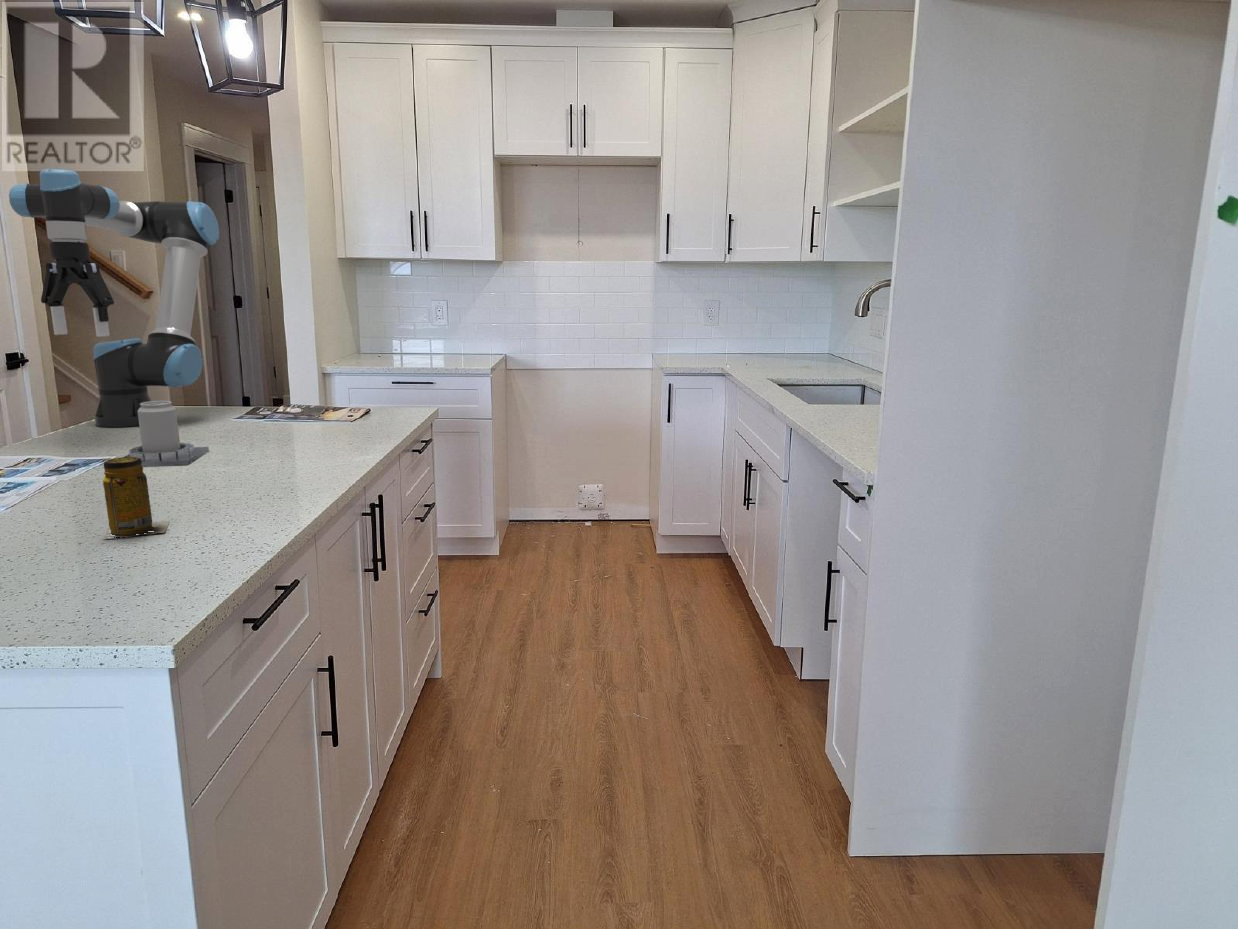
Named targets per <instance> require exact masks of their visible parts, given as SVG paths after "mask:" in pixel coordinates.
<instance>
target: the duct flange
mask: <svg viewBox="0 0 1238 929" xmlns="http://www.w3.org/2000/svg"><path fill="white" fill-rule="evenodd" d="M180 448H181V449H179V450H174V451H167V452H151V453H147V452H143V450H142V445H139V446H135V447H132V448H130V449H129V450H128V453H129V454H127V455H125V456H124V457H137V458H140V459H141V461H142V467H165V466H166V467H168V466H169V467H171V466H174V467H175V465H176V466H188V465H190V464H192V463H193V462H195V461H196V460H198V459H199V458H201V457H202V456H203V454H204V453H205V454H206V452H207V453H208V452H210V450H209V449H210V448H209V446H195V445H194V444H192V443H188V442H181V441H180ZM205 454H204V455H205ZM201 455H202V456H201ZM200 456H201V457H200ZM197 458H198V459H197ZM195 459H196V460H195ZM194 460H195V461H194ZM191 462H192V463H191Z"/></svg>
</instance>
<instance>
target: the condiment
mask: <svg viewBox="0 0 1238 929" xmlns="http://www.w3.org/2000/svg"><path fill="white" fill-rule="evenodd" d="M103 469H104V471H103V472H104V473H103V474H104V478H103V480H102V485H103V489H104V497H105V503H106V506H105V507H106V512H107V520H108V527H109V531H111V533H107V534H112V535H115V536H110V535H109V536H105V537H104V538H103V540H109V539H110V540H111V539H113V538H108V537H115V538H114V539H117V538H116V537H120V538H119V539H121V538H122V537H125V538H132V537H137V536H141V535H142V536H143V535H144V536H146V535H154V534H161V533H162V534H163V533H166V532H167V530H168V528H169V524H170V520H166V521H165V520H164V521H154V522H153V515H152V509H151V502H150V494H149V486H148V485H149V484H148V478H147V475H146V474H145V473H144V466H142V461H141V459H140V458H137V457H125V456H123V457H114V458H109V459H107V460H105V461H104V462H103ZM109 531H108V532H109ZM148 531H154V532H148ZM144 533H147V534H144ZM136 534H140V535H136ZM122 539H123V538H122Z"/></svg>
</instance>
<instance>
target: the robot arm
mask: <svg viewBox="0 0 1238 929" xmlns="http://www.w3.org/2000/svg"><path fill="white" fill-rule="evenodd" d="M39 182H40V183H39V184H38V183H35V184H34V183H28V182H27V183H23V184H22V183H21V184H15V185H13V186H12V187H11V188H10V190H9V194H8V197H9V198H8V201H9V205H10V206H11V208H12V210H13V211H14V212H15V213H16V214H17V215H18V216H21V217H23V218H32V219H34V218H35V219H36V218H43V219H45V227H46V234H47V239H49V240H51V241H49V243H48V246H49V251H50V257H51V258H52V259H53V260H55V262H46V263H45V277H44V282H43V288H42V293H41V297H40V302H41V304H46V305H47V307H49V314H50V319H51V321H52V328H53V335H54V336H61V335H68V334H69V333H68V325H67V318H66V312H65V306H64V304H63V300H64V298H65V296H66V294H67V291H68V289H69V287H70V286H71V285H73V284H77V285H78V286H80V287H81V289H82V290H83V291H84V293H85V294H86V295H87V297H88V298H89V300H90V301H91V303H92V304H93V306H92V313H93V321H94V327H95V336H96V337H97V338H98V337H110V336H111V335H110V328H109V313H108V312H109V311H108V307H109V306H113V305H114V304H115V301H114V298H113V297H112V294H111V293H110V290H109V289H108V287H107V284H106V282H105V279H104V278H103V276H102V274H101V271H100V266H99V264H98V263H95V262H94V263H92V262H90V263H89V262H87V260H90V259H91V253H90V246H89V244H88V243H87V242H85V241H87V240H88V232H87V226H88V227H93V228H94V227H95V228H98V229H104V230H108V231H109V230H110V231H114V232H115V233H116V234H117V235H119V236H122V237H127V238H130V239H131V238H132V239H135V240H139V241H144V242H148V243H154V244H161V245H162V247H163V248H164V249H165V250H166V253H165V259H164V260H165V261H164V266H163V273H162V282H161V289H160V296H159V302H158V308H157V309H158V311H157V318H156V324H155V329H154V330H153V331H150V332H149V333H148V334H147V340H146V343H143V341H142V338H139V337H137V338H136V337H135V338H129V339H122V340H121V339H120V340H113V341H112V340H111V341H105V342H103V341H102V342H98V343H96V344H95V345H94V346H93V361H94V369H95V373H96V374H95V375H96V381H97V389H98V396H99V397H98V398H99V399H98V402H97V407H96V410H95V413H94V414H95V416H94V421H95V423H94V424H95V426H97V427H100V428H102V427H103V428H125V427H127V428H128V427H137V426H139V419H138V410H139V408H140V407H141V405H140V404H141V403H143V402H150V401H152V399H151V397H150V396H149V392H148V391H149V390H148V387H171V388H178V387H188V386H191V385H193V383H195V382H196V381H197V380H198V379H199V377H200V375H201V373H202V369H203V366H204V365H203V360H204V359H203V357H202V356H203V355H202V351H201V349H200V348H199V347H198V346H197V345H196V340H195V339H194V338H193V337H192V336H191V332H192V327H193V320H194V311H195V304H196V296H197V288H198V280H199V274H200V273H199V272H200V266H201V259H202V258H203V257H205V256H206V255H208V251H209V245H210V246H212V245H215V244H216V243H218V241H219V238H220V227H219V223H218V219H217V218H216V217H217V216H216V215H215V213H214V211H213V210H212V208H211V207H210V206H209V205H207V204H206V203H204V202H200V201H191V200H187V201H160V200H159V201H157V200H156V201H140V202H139V201H137V202H136V201H128V200H119V197H118V195H117V194H116V193H115V191H113V190H112V189H110V188H109V187H106V186H103V185H100V184H98V185H97V184H89V183H82V181H81V179H80V175H79V173H78V172H76V171H74V170H68V169H67V170H66V169H62V168H61V169H60V168H59V169H57V168H56V169H55V168H45V169H42V170H40V172H39Z"/></svg>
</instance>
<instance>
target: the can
mask: <svg viewBox="0 0 1238 929" xmlns="http://www.w3.org/2000/svg"><path fill="white" fill-rule="evenodd" d="M172 403H173V402H172V401H170V400H151V401H150V402H143V403H141V404H140V405H141V407H140V408H139V410H138V419H139V425H138V426H139V433H140V440H141V441H140V442H141V446H142V450H143V452H147V453H151V452H167V451H174V450H179V449H181V448H180V442H181V441H180V433H179V431H180V430H179V425H178V424H179V423H178V415H177V408H176V407H175V406H174V405H173V404H172Z"/></svg>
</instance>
